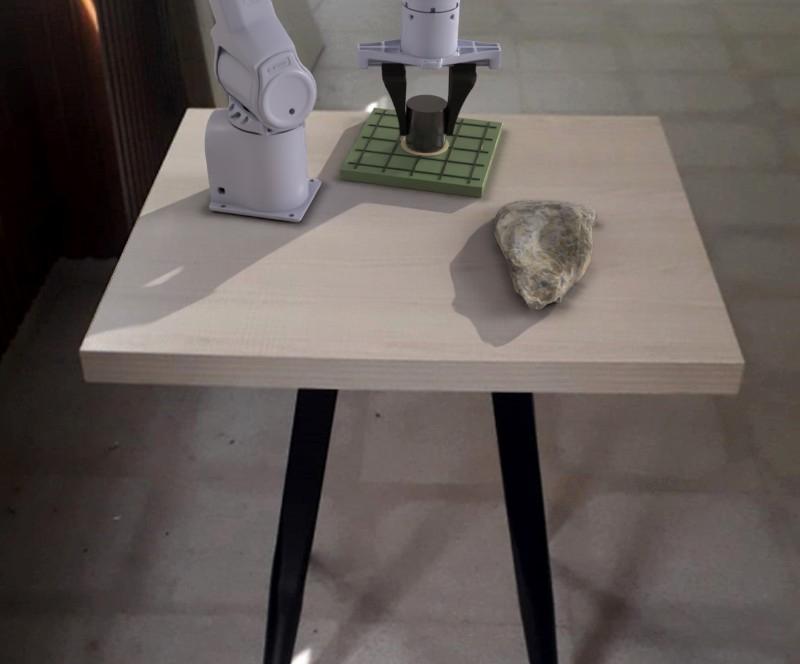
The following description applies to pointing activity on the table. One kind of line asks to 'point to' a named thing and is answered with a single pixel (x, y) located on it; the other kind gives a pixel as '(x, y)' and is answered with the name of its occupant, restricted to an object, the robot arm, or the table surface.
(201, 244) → the table surface
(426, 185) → the board
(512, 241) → the stone
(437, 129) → the dark grey cylinder
